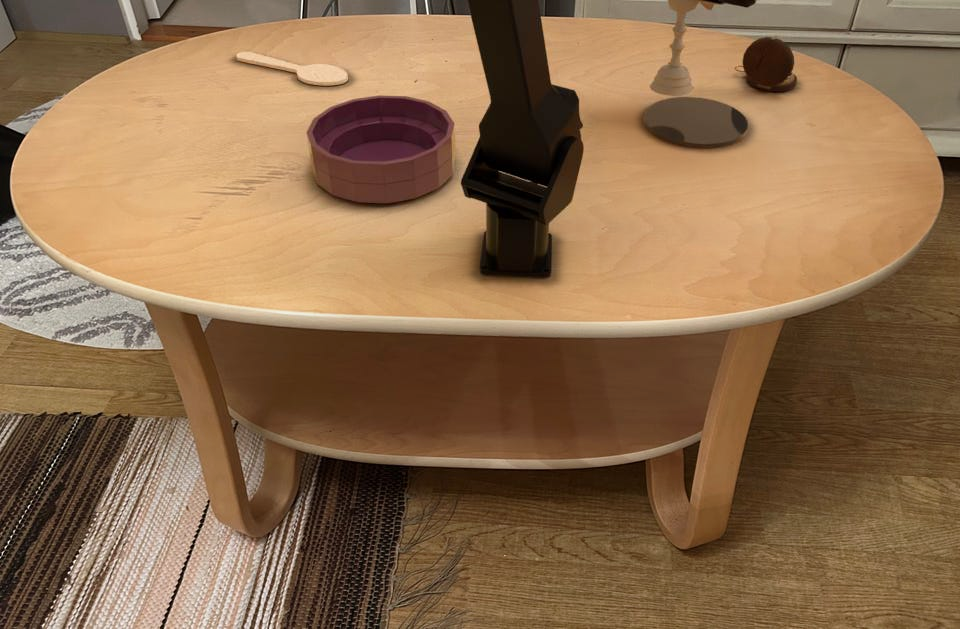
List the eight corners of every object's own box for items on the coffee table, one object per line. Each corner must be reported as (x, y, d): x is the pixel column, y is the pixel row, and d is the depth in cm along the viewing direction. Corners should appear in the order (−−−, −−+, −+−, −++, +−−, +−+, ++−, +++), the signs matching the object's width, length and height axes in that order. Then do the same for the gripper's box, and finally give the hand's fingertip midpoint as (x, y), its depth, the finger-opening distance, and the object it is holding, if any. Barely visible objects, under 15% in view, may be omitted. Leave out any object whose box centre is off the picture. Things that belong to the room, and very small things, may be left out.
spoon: (251, 49, 112) (250, 45, 111) (357, 74, 105) (357, 70, 105) (225, 63, 108) (224, 59, 108) (333, 89, 101) (333, 85, 101)
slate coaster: (755, 150, 89) (756, 145, 89) (648, 146, 90) (648, 141, 90) (737, 102, 98) (738, 98, 98) (640, 99, 99) (640, 95, 99)
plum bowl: (446, 210, 80) (444, 166, 77) (299, 204, 81) (291, 161, 78) (460, 138, 92) (460, 97, 89) (331, 133, 93) (325, 93, 90)
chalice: (662, 71, 97) (682, -91, 86) (712, 85, 94) (741, -83, 83) (630, 90, 93) (647, -79, 82) (681, 104, 89) (707, -70, 78)
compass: (801, 79, 104) (816, 23, 99) (782, 102, 99) (797, 44, 94) (742, 65, 107) (754, 10, 102) (720, 86, 102) (731, 30, 97)
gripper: (795, -156, 70) (799, -53, 84) (604, -176, 78) (637, -78, 92) (745, -40, 70) (758, 44, 84) (560, -71, 78) (600, 10, 92)
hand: (686, 1), depth 88 cm, fingers closed on chalice, 5 cm apart
